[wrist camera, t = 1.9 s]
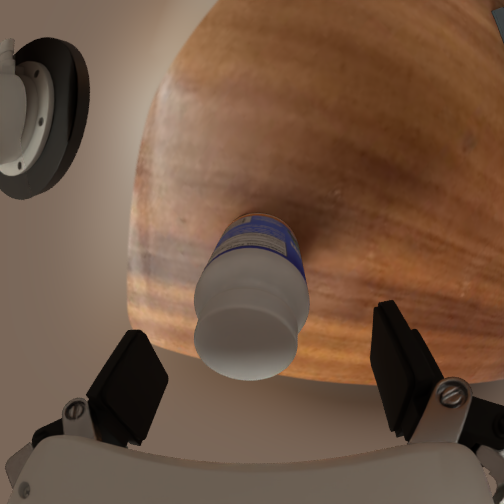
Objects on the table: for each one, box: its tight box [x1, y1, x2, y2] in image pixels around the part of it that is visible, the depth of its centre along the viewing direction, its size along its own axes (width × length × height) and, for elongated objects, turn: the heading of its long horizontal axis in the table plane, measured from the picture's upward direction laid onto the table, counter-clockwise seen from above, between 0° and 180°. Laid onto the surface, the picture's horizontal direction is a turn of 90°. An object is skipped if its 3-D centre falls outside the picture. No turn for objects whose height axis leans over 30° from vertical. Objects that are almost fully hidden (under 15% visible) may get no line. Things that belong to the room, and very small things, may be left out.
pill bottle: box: [194, 213, 310, 380], centre depth 14 cm, size 5×5×10 cm
